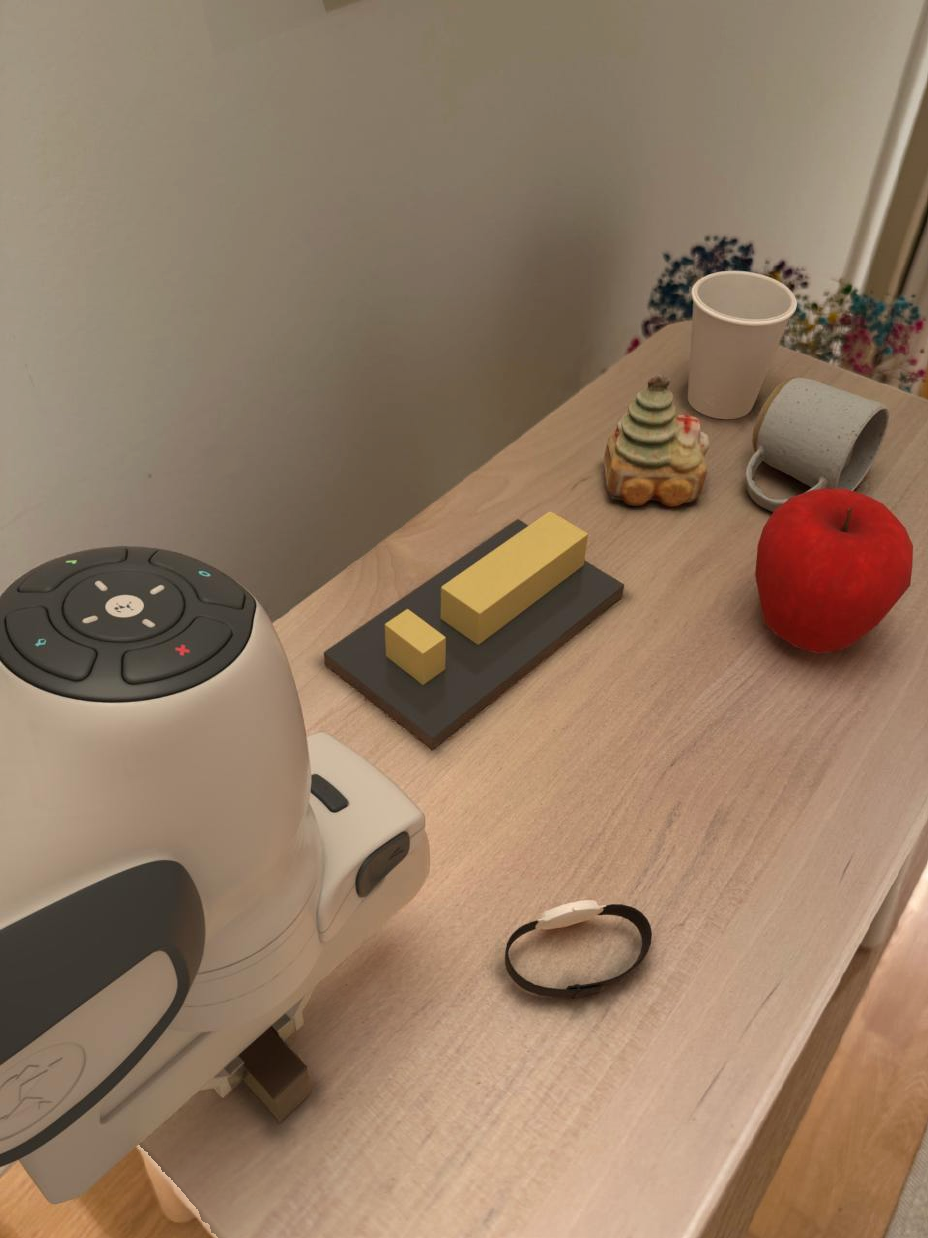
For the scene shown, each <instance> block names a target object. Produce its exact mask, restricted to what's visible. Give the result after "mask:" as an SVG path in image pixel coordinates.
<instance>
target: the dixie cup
mask: <svg viewBox="0 0 928 1238" xmlns="http://www.w3.org/2000/svg"><path fill="white" fill-rule="evenodd" d="M690 293H691V299H692V302H693V304H692V318H691V333H690V335H691V336H690V351H689V352H690V353H689V366H688V367H689V369H688V382H687V383H688V384H687V401H688V403H689V405H690V406H691V407H692V409H694V410H695V411H697V412H698V413H700V414H701V415H704V416H706V417H709V418H713V419H719V420H735V419H741V418H743V417H744V416H745V417H746V416H747V415H748V414H749V413H751V411H752V409H753V408H754V407H755V403H756V401H757V399H758V396H759V393H760V391H761V388H762V387H763V384H764V382H765V378H766V376H767V374H768V372H769V370H770V367H771V365H772V362H773V360H774V357H775V356H776V355H775V354H776V353H777V350H778V347H779V345H780V343H781V340H782V338H783V335H784V333H785V329H786V328H787V326H788V323H789V321H790V318H791V317H792V316H793V315H794V314H795V312H796V310H797V307H798V302H797V298H796V296H795V294H794V293H793V292H792V291H791V289H789V287H788V286H786V284H783V283H782V282H781V281H779V280H777V279H774V278H773V277H770V276H767V275H764V274H761V273H757V272H752V271H744V270H724V271H717V272H713V273H710V274H707V275H705V276H703V277H701V278H699V279H698V280H697V281H696V282H695V283H694V284H693V286H692V288H691V292H690Z"/></svg>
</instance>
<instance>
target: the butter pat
mask: <svg viewBox="0 0 928 1238" xmlns="http://www.w3.org/2000/svg"><path fill="white" fill-rule="evenodd" d="M385 643H386V656H387V657H388V658H389V659H390V660H392V661H393V662H394V663H395V664H397V665H398V666H399V667H400V668H402V669H403V670H404V671H406V672H407V673H408V674H409V675H411V676H412V677H413V678H414V679H416V680H417V681H418V682H419V683H421V684H422V685H424V684H425V683H427V682H428V681H430V680H431V679H432V678H434V677H435V676H437V675H438V674H439V673H441V672H442V671H443V670H445V655H446V637H445V636H443V635H442V634H441V633H439V632H438V631H437V630H435V629H434V628H433V627H431V626H430V625H429V624H427V623H426V622H425V621H423V620H422V619H421V618H419V617H418V616H417V615H415V614H414V613H413V612H411V611H410V610H409V609H407V610H405V611H404V612H402V613H401V614H399V615H398V616H396V617H395V618H393V619H392V620H390V621H389V622H387V623H386V624H385Z"/></svg>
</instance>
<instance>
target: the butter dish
mask: <svg viewBox="0 0 928 1238" xmlns="http://www.w3.org/2000/svg"><path fill="white" fill-rule="evenodd" d="M528 526H529V524H527V523H525V522H523V521H522V520H521V519H519V518H517V519H515V520H513V521H512V522H511V523H509V524H508V525H506V526H505V527H503V528H502V529H501V530H499V531H498V532H497V533H495V534H493V535H491V537H489V538H487V539H486V540H484V541H483V542H482V543H480V544H479V545H476V547H475V548H473V549H471V550H469V551H468V552H467V553H465V554H464V555H463V556H461V557H460V558H459V559H457V560H455V561H454V562H452V563H451V564H450V565H449V566H447V567H445V568H444V569H443V570H441V571H439V572H438V573H437V574H435V575H434V576H432V577H431V578H429V579H427V580H426V581H425V582H423V583H422V584H421V585H419V586H418V587H416V588H415V589H413V590H412V591H410V592H409V593H407V594H406V595H404V596H403V597H402V598H401V599H399V600H398V601H396V602H394V603H393V604H391V605H390V606H389V607H387V608H386V609H384V610H383V611H382V612H380V613H379V614H377V615H376V616H374V617H372V618H371V619H370V620H368V621H366V623H364V624H363V625H361V626H360V627H358V628H357V629H355V630H353V631H352V632H350V633H349V634H347V635H346V636H345V637H344V638H342V639H341V640H339V641H338V642H337V643H334V645H332V646H330V647H328V648H327V649H326V650H325V651H323V659H324V660H323V661H324V665H325V666H326V667H328V668H329V669H330V670H331V671H332V672H334V673H335V674H337V676H339V677H340V678H342V679H343V680H344V681H345V682H346V683H347V684H349V685H350V686H351V687H353V688H354V689H355V690H357V691H358V692H359V693H360V694H362V695H363V696H364V697H365V698H366V699H368V700H369V701H370V702H372V703H373V704H374V705H376V707H378V708H379V709H381V710H382V711H383V712H385V714H387V715H388V716H389V717H391V718H392V719H393V720H394V721H395V722H397V723H398V724H399V725H401V726H402V728H404V729H405V730H407V731H408V732H409V733H411V734H412V735H413V736H415V737H416V738H417V739H418V740H420V741H421V742H422V743H423V744H424V745H426V747H428V748H429V749H431V750H434V749H435V748H437V747H438V746H440V744H442V743H443V742H444V741H445V740H446V739H448V738H449V737H451V736H452V735H453V734H454V733H456V732H457V731H458V730H460V729H461V727H463V726H464V725H465V724H466V723H468V722H469V721H470V720H471V719H473V718H474V717H475V716H476V715H478V714H479V713H480V712H482V710H484V709H485V708H487V706H489V705H490V704H491V703H492V702H494V701H495V700H496V699H498V698H499V697H500V696H501V695H502V694H503V693H505V692H506V691H508V690H509V689H510V688H511V687H512V686H513V685H515V684H516V683H517V682H518V681H520V680H521V679H522V678H524V677H525V676H526V675H528V673H530V672H531V671H532V670H534V668H536V667H537V666H539V664H541V663H542V662H543V661H544V660H546V659H547V658H548V657H549V656H551V655H552V654H553V653H555V652H556V651H557V650H558V649H560V647H562V646H563V645H564V644H565V643H567V642H568V641H569V640H571V639H572V638H573V637H574V636H575V635H577V634H578V633H580V631H582V630H583V629H584V628H585V627H586V626H588V625H589V624H590V623H592V622H593V621H594V620H595V619H596V618H598V617H599V616H601V615H602V614H603V613H604V612H605V611H607V610H608V609H609V608H610V607H612V606H613V605H614V604H615V603H617V602H618V601H619V600H620V599H621V598H623V595H624V591H625V590H624V589H625V583H622V582H621V581H619V580H618V579H616V578H614V577H613V576H611V575H610V574H608V573H606V572H604V570H601V569H600V568H598V567H596V566H595V565H594V564H592V563H590V562H588V561H587V560H586V559H585V560H584V565H583V566H582V567H581V568H579V569H578V570H577V571H575V572H574V573H573V574H572V575H570V576H569V577H568V578H566V579H565V580H564V581H562V582H561V583H560V584H558V585H557V586H556V587H554V588H553V589H552V590H550V591H549V592H548V593H546V594H545V595H544V596H542V597H541V598H540V599H539V600H537V601H536V602H535V603H533V604H532V605H531V606H529V607H528V608H527V609H525V610H524V611H523V612H521V613H520V614H519V615H517V616H516V617H515V618H513V619H512V620H511V621H510V622H508V623H507V624H506V625H504V626H503V627H502V628H500V629H499V630H498V631H496V632H495V633H494V634H492V635H491V636H490V637H488V638H487V639H486V640H484V641H483V642H482V643H481V644H479V645H477V644H476V643H474V642H473V641H471V640H470V639H469V638H467V637H466V636H464V635H463V634H461V633H460V632H459V631H457V630H456V629H454V628H453V627H452V626H450V625H449V624H447V623H446V622H445V621H443V620H442V619H441V587H442V586H443V585H444V584H446V583H447V582H449V581H450V580H452V579H453V578H454V577H456V576H457V575H459V574H460V573H462V572H463V571H464V570H466V569H467V568H469V567H470V566H472V565H473V564H475V563H476V562H477V561H479V560H480V559H482V558H483V557H485V556H486V555H487V554H489V553H490V552H492V551H493V550H495V549H496V548H497V547H499V546H500V545H502V544H503V543H505V542H506V541H507V540H509V539H510V538H512V537H513V536H515V535H516V534H518V533H519V532H520V531H522V530H523V529H525V528H526V527H528ZM407 609H409V610H410V611H411V612H413V613H414V614H415V615H417V616H418V617H419V618H421V619H422V620H423V621H425V622H426V623H427V624H429V625H430V626H431V627H433V628H434V629H435V630H437V631H438V632H439V633H441V634H442V635H443V636H445V637H446V655H445V670H443V671H442V672H441V673H439V674H438V675H437V676H435V677H434V678H432V679H431V680H430V681H428V682H427V683H425V684H424V685H422V684H421V683H419V682H418V681H417V680H416V679H414V678H413V677H412V676H411V675H409V674H408V673H407V672H406V671H404V670H403V669H402V668H400V667H399V666H398V665H397V664H395V663H394V662H393V661H392V660H390V659H389V658H388V657H387V656H386V643H385V624H386V623H387V622H389V621H390V620H392V619H393V618H395V617H396V616H398V615H399V614H401V613H402V612H404V611H405V610H407Z"/></svg>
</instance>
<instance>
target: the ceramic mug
mask: <svg viewBox="0 0 928 1238" xmlns="http://www.w3.org/2000/svg"><path fill="white" fill-rule="evenodd" d="M757 415H758V416H757V417H756V420H755V424H754V427H753V432H752V440H751V443H752V448H753V452H754V453H753V455H752V456H751V457H750V460H749V461H748V463H747V467H746V470H745V485H746V490H747V493H748V495H749V496H750V498H751V500H752V501H753V502H755V504H756V505H757V506H759V507H760V508H763V509H764V510H767V511H769V512H772V513H773V512H774V511H775V510H776V509H777V508H778V507H780V506H781V505H782V504H783V503H785V502H786V501H787V500H788V499H789V498H783V499H780V498H779V499H774V498H770V497H768V496H766V495H765V494H764V493H763V491H762V489H761V488H760V487H758V486H756V485H757V484H756V483H755V481H754V480H753V477H754V475H755V472H756V471H757V469H758V468H759V466H760V465H761V463H762V462H764V463H765V464H766V465H768V466H770V467H772V468H773V469H776V470H777V471H780V472H781V473H783V474H786V475H788V476H790V477H792V478H794V479H795V480H797V481H799V482H800V483H802V484H804V485H806V486H808V487H810V489H808V490H807V491H806V492H808V491H811V490H817V489H847V490H850V491H855V489H856V488H858V486H859V485H860V484H861V483H862V481H863V480H864V479H865V476H866V475H867V474H868V472H869V471H870V469H871V467H872V465H873V464H874V462H875V461H876V459H877V456H878V454H879V452H880V450H881V447H882V444H883V442H884V438H885V436H886V432H887V429H888V426H889V420H890V410H889V407H888V406H887V405H886V404H884V403H882V402H879V401H876V400H873V399H869V398H867V397H864V396H860V395H858V394H855V393H853V392H849V391H846V390H843V389H840V388H837V387H834V386H831V385H829V384H826V383H824V382H821V381H818V380H816V379H815V380H814V379H810V378H805V377H798V376H797V377H796V376H794V377H789V378H786V379H785V380H783V381H781V382H780V383H779V384H778V385H777V386H776V387H775V388H774V389H773V391H772V392H770V394H769V396H767V398H766V400H765V402H764V403H763V404H762V407H761V409H760V411H759V413H758V414H757Z"/></svg>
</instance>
